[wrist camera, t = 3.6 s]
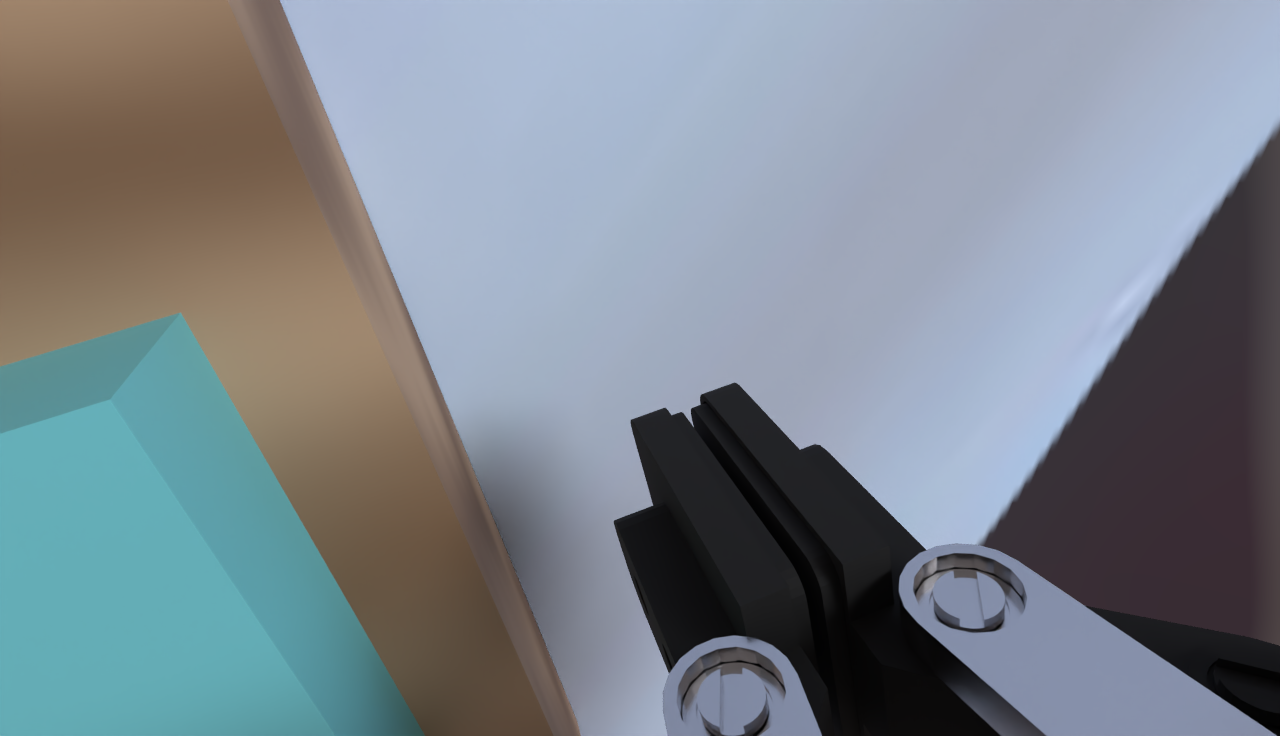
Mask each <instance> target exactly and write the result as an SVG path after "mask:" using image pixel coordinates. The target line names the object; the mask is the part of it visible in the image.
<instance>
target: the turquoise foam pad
mask: <svg viewBox="0 0 1280 736" xmlns="http://www.w3.org/2000/svg"><path fill="white" fill-rule="evenodd" d="M0 736H425V735H424V733H423V731H422V729H421V728H420V726H419V724H418V723H417V721H416V719H415V717H414V716H413V714H412V712H411V710H410V709H409V707H408V705H407V704H406V702H405V700H404V698H403V697H402V695H401V693H400V691H399V690H398V688H397V686H396V684H395V683H394V681H393V679H392V678H391V676H390V674H389V672H388V671H387V669H386V667H385V665H384V664H383V662H382V660H381V658H380V657H379V655H378V653H377V652H376V650H375V648H374V646H373V645H372V643H371V641H370V639H369V638H368V636H367V634H366V632H365V631H364V629H363V627H362V626H361V624H360V622H359V620H358V619H357V617H356V615H355V613H354V612H353V610H352V608H351V607H350V605H349V603H348V601H347V600H346V598H345V596H344V594H343V593H342V591H341V589H340V587H339V586H338V584H337V582H336V581H335V579H334V577H333V575H332V574H331V572H330V570H329V568H328V567H327V565H326V563H325V561H324V560H323V558H322V556H321V555H320V553H319V551H318V549H317V548H316V546H315V544H314V542H313V541H312V539H311V537H310V536H309V534H308V532H307V530H306V529H305V527H304V525H303V523H302V522H301V520H300V518H299V516H298V515H297V513H296V511H295V510H294V508H293V506H292V504H291V503H290V501H289V499H288V497H287V496H286V494H285V492H284V490H283V489H282V487H281V485H280V484H279V482H278V480H277V478H276V477H275V475H274V473H273V471H272V470H271V468H270V466H269V464H268V463H267V461H266V459H265V458H264V456H263V454H262V452H261V451H260V449H259V447H258V445H257V444H256V442H255V440H254V439H253V437H252V435H251V433H250V432H249V430H248V428H247V426H246V425H245V423H244V421H243V419H242V418H241V416H240V414H239V413H238V411H237V409H236V407H235V406H234V404H233V402H232V400H231V399H230V397H229V395H228V393H227V392H226V390H225V388H224V387H223V385H222V383H221V381H220V380H219V378H218V376H217V374H216V373H215V371H214V369H213V367H212V366H211V364H210V362H209V361H208V359H207V357H206V355H205V354H204V352H203V350H202V348H201V347H200V345H199V343H198V342H197V340H196V338H195V336H194V335H193V333H192V331H191V329H190V328H189V326H188V324H187V322H186V321H185V319H184V317H183V316H182V314H181V312H180V313H177V314H174V315H170V316H167V317H164V318H160V319H157V320H154V321H150V322H147V323H144V324H140V325H137V326H134V327H130V328H127V329H124V330H120V331H117V332H114V333H110V334H107V335H104V336H100V337H97V338H94V339H90V340H87V341H84V342H80V343H77V344H74V345H70V346H67V347H64V348H60V349H57V350H54V351H50V352H47V353H44V354H40V355H37V356H34V357H30V358H27V359H24V360H20V361H17V362H14V363H10V364H7V365H4V366H0Z"/></svg>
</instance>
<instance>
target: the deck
mask: <svg viewBox="0 0 1280 736" xmlns="http://www.w3.org/2000/svg"><path fill="white" fill-rule="evenodd" d="M180 312H181V314H182V316H183V317H184V319H185V321H186V322H187V324H188V326H189V328H190V329H191V331H192V333H193V335H194V336H195V338H196V340H197V342H198V343H199V345H200V347H201V348H202V350H203V352H204V354H205V355H206V357H207V359H208V361H209V362H210V364H211V366H212V367H213V369H214V371H215V373H216V374H217V376H218V378H219V380H220V381H221V383H222V385H223V387H224V388H225V390H226V392H227V393H228V395H229V397H230V399H231V400H232V402H233V404H234V406H235V407H236V409H237V411H238V413H239V414H240V416H241V418H242V419H243V421H244V423H245V425H246V426H247V428H248V430H249V432H250V433H251V435H252V437H253V439H254V440H255V442H256V444H257V445H258V447H259V449H260V451H261V452H262V454H263V456H264V458H265V459H266V461H267V463H268V464H269V466H270V468H271V470H272V471H273V473H274V475H275V477H276V478H277V480H278V482H279V484H280V485H281V487H282V489H283V490H284V492H285V494H286V496H287V497H288V499H289V501H290V503H291V504H292V506H293V508H294V510H295V511H296V513H297V515H298V516H299V518H300V520H301V522H302V523H303V525H304V527H305V529H306V530H307V532H308V534H309V536H310V537H311V539H312V541H313V542H314V544H315V546H316V548H317V549H318V551H319V553H320V555H321V556H322V558H323V560H324V561H325V563H326V565H327V567H328V568H329V570H330V572H331V574H332V575H333V577H334V579H335V581H336V582H337V584H338V586H339V587H340V589H341V591H342V593H343V594H344V596H345V598H346V600H347V601H348V603H349V605H350V607H351V608H352V610H353V612H354V613H355V615H356V617H357V619H358V620H359V622H360V624H361V626H362V627H363V629H364V631H365V632H366V634H367V636H368V638H369V639H370V641H371V643H372V645H373V646H374V648H375V650H376V652H377V653H378V655H379V657H380V658H381V660H382V662H383V664H384V665H385V667H386V669H387V671H388V672H389V674H390V676H391V678H392V679H393V681H394V683H395V684H396V686H397V688H398V690H399V691H400V693H401V695H402V697H403V698H404V700H405V702H406V704H407V705H408V707H409V709H410V710H411V712H412V714H413V716H414V717H415V719H416V721H417V723H418V724H419V726H420V728H421V729H422V731H423V733H424V735H425V736H581V735H580V731H579V727H578V723H577V720H576V718H575V715H574V713H573V710H572V708H571V705H570V703H569V701H568V698H567V696H566V693H565V691H564V689H563V686H562V684H561V681H560V679H559V676H558V674H557V672H556V669H555V667H554V664H553V662H552V659H551V657H550V655H549V652H548V650H547V647H546V645H545V642H544V640H543V638H542V635H541V633H540V630H539V628H538V626H537V623H536V621H535V618H534V616H533V613H532V611H531V609H530V606H529V604H528V601H527V599H526V596H525V594H524V592H523V589H522V587H521V584H520V582H519V579H518V577H517V575H516V572H515V570H514V567H513V565H512V562H511V560H510V558H509V555H508V553H507V550H506V548H505V546H504V543H503V541H502V538H501V536H500V533H499V531H498V529H497V526H496V524H495V521H494V519H493V516H492V514H491V512H490V509H489V507H488V504H487V502H486V499H485V497H484V495H483V492H482V490H481V487H480V485H479V483H478V480H477V478H476V475H475V473H474V470H473V468H472V466H471V463H470V461H469V458H468V456H467V453H466V451H465V449H464V446H463V444H462V441H461V439H460V436H459V434H458V432H457V429H456V427H455V424H454V422H453V419H452V417H451V415H450V412H449V410H448V407H447V405H446V403H445V400H444V398H443V395H442V393H441V390H440V388H439V386H438V383H437V381H436V378H435V376H434V373H433V371H432V369H431V366H430V364H429V361H428V359H427V356H426V354H425V352H424V349H423V347H422V344H421V342H420V339H419V337H418V335H417V332H416V330H415V327H414V325H413V323H412V320H411V318H410V315H409V313H408V310H407V308H406V306H405V303H404V301H403V298H402V296H401V293H400V291H399V289H398V286H397V284H396V281H395V279H394V276H393V274H392V272H391V269H390V267H389V264H388V262H387V260H386V257H385V255H384V252H383V250H382V247H381V245H380V243H379V240H378V238H377V235H376V233H375V230H374V228H373V226H372V223H371V221H370V218H369V216H368V213H367V211H366V209H365V206H364V204H363V201H362V199H361V196H360V194H359V192H358V189H357V187H356V184H355V182H354V180H353V177H352V175H351V172H350V170H349V167H348V165H347V163H346V160H345V158H344V155H343V153H342V150H341V148H340V146H339V143H338V141H337V138H336V136H335V133H334V131H333V129H332V126H331V124H330V121H329V119H328V117H327V114H326V112H325V109H324V107H323V104H322V102H321V100H320V97H319V95H318V92H317V90H316V87H315V85H314V83H313V80H312V78H311V75H310V73H309V70H308V68H307V66H306V63H305V61H304V58H303V56H302V53H301V51H300V49H299V46H298V44H297V41H296V39H295V37H294V34H293V32H292V29H291V27H290V24H289V22H288V20H287V17H286V15H285V12H284V10H283V7H282V5H281V3H280V0H0V366H4V365H7V364H10V363H14V362H17V361H20V360H24V359H27V358H30V357H34V356H37V355H40V354H44V353H47V352H50V351H54V350H57V349H60V348H64V347H67V346H70V345H74V344H77V343H80V342H84V341H87V340H90V339H94V338H97V337H100V336H104V335H107V334H110V333H114V332H117V331H120V330H124V329H127V328H130V327H134V326H137V325H140V324H144V323H147V322H150V321H154V320H157V319H160V318H164V317H167V316H170V315H174V314H177V313H180Z"/></svg>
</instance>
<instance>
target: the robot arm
mask: <svg viewBox="0 0 1280 736" xmlns="http://www.w3.org/2000/svg"><path fill="white" fill-rule="evenodd" d="M700 403H701V405H699V406H696V407H694V408H692V409H691V416H692V421H693V425H694V427H693V426H692V424H691V423H690V422H689V420H688V419H687V418H686V416H685V415H684V414H683V413H682V412H680V413H677V414H674V415H672V416H671V414H670V413H669V411H668V410H667V409H666V408H663V409H660V410H657V411H654V412H652V413H649V414H646V415H643V416H640V417H638V418H635V419H632V420H631V427H632V431H633V435H634V438H635V442H636V445H637V449H638V453H639V456H640V460H641V463H642V467H643V470H644V474H645V477H646V481H647V485H648V488H649V492H650V495H651V499H652V502H653V506H651V507H649V508H646V509H643V510H641V511H638V512H635V513H633V514H630V515H628V516H625V517H622V518H620V519H617V520H614V525H615V529H616V532H617V535H618V538H619V542H620V545H621V548H622V551H623V554H624V557H625V560H626V563H627V566H628V569H629V572H630V575H631V578H632V581H633V584H634V586H635V589H636V592H637V595H638V597H639V600H640V603H641V605H642V608H643V610H644V613H645V615H646V618H647V620H648V623H649V625H650V628H651V630H652V633H653V635H654V637H655V640H656V642H657V645H658V647H659V650H660V652H661V655H662V657H663V660H664V662H665V664H666V667H667V669H668V672H669V675H668V678H667V681H666V684H665V687H664V690H663V714H664V719H665V724H666V729H667V734H668V736H1280V646H1278V645H1275V644H1271V643H1267V642H1264V641H1260V640H1257V639H1253V638H1250V637H1245V636H1240V635H1235V634H1230V633H1224V632H1219V631H1214V630H1209V629H1203V628H1198V627H1193V626H1188V625H1182V624H1177V623H1171V622H1167V621H1161V620H1156V619H1151V618H1146V617H1140V616H1135V615H1130V614H1124V613H1120V612H1114V611H1109V610H1103V609H1099V608H1093V607H1088V606H1084V605H1082V604H1081V603H1079V602H1078V601H1076V600H1075V599H1073V598H1072V597H1070V596H1069V595H1067V594H1066V593H1064V592H1063V591H1062V590H1060V589H1059V588H1057V587H1055V586H1054V585H1053V584H1051V583H1050V582H1048V581H1046V580H1045V579H1044V578H1042V577H1041V576H1039V575H1038V574H1036V573H1035V572H1033V571H1032V570H1030V569H1029V568H1027V567H1026V566H1024V565H1023V564H1021V563H1020V562H1018V561H1017V560H1015V559H1013V558H1011V557H1009V556H1007V555H1005V554H1004V553H1001V552H1000V551H998V550H994V549H990V548H987V547H983V546H979V545H971V544H957V543H956V544H949V545H942V546H936V547H933V548H931V549H928V550H926V549H925V548H924V547H923V546H922V545H921V544H920V543H919V542H918V541H917V540H916V539H915V538H914V537H913V536H912V535H911V534H910V533H909V532H908V531H907V530H906V529H905V528H904V527H903V526H902V525H901V524H900V523H899V522H898V521H897V520H896V519H895V518H894V517H893V516H892V515H891V514H890V513H889V512H888V511H887V510H886V509H885V508H884V507H883V506H882V505H881V504H880V503H879V502H878V501H877V500H876V499H875V498H874V497H873V496H872V495H871V494H870V493H869V492H868V491H867V490H866V489H865V488H864V487H863V486H862V485H861V484H860V483H859V482H858V481H857V480H856V479H855V478H854V477H853V476H852V475H851V474H850V473H849V472H848V471H847V470H846V469H845V468H844V467H843V466H842V465H841V464H840V463H839V462H838V461H837V460H836V459H835V458H834V457H833V456H832V455H831V454H830V453H829V452H828V451H827V450H825V449H824V448H823V447H821V446H820V445H816V444H814V445H812V446H809V447H806V448H804V449H801V450H799V448H798V447H797V446H796V445H795V444H794V443H793V442H792V441H791V440H790V439H789V438H788V437H787V436H786V435H785V434H784V432H783V431H782V430H781V429H780V428H779V427H778V426H777V425H776V424H775V423H774V422H773V421H772V420H771V419H770V418H769V416H768V415H767V414H766V413H765V412H764V411H763V410H762V409H761V408H760V407H759V406H758V405H757V404H756V403H755V402H754V400H753V399H752V398H751V397H750V396H749V395H748V394H747V393H746V392H745V391H744V390H743V389H742V388H741V387H740V386H739V385H738V384H737V383H732V384H729V385H727V386H724V387H721V388H718V389H715V390H713V391H710V392H707V393H704V394H702V395H701V397H700Z"/></svg>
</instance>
